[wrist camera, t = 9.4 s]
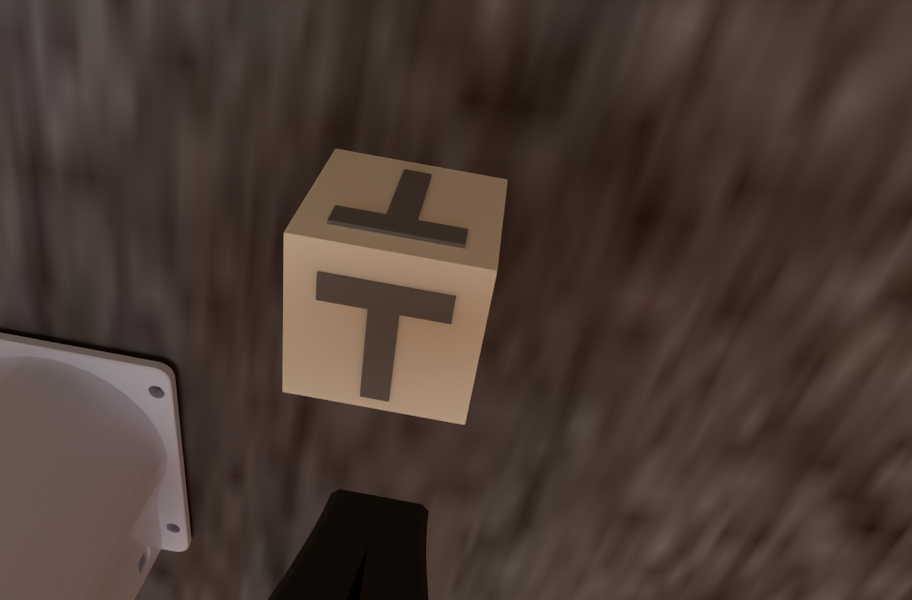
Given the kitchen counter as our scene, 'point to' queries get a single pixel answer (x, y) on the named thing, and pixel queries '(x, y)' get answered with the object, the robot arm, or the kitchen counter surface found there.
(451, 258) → the letter cube
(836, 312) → the kitchen counter surface
